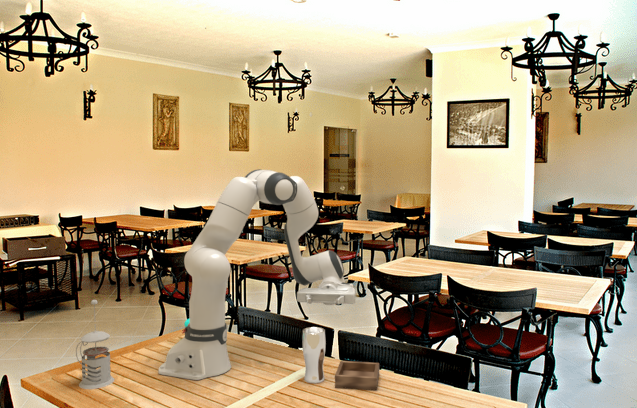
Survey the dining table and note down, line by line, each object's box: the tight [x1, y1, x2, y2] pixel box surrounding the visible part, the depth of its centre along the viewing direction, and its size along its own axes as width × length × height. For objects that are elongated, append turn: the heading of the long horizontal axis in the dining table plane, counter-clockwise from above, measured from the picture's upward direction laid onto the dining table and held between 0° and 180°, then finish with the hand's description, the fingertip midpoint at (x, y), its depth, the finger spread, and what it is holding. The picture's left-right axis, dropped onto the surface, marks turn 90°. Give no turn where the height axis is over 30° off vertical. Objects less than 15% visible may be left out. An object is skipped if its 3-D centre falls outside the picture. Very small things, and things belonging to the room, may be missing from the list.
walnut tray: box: [334, 360, 380, 392], centre depth 148 cm, size 12×12×4 cm
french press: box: [75, 299, 115, 390], centre depth 149 cm, size 10×12×25 cm
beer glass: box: [301, 326, 327, 384], centre depth 149 cm, size 7×7×15 cm
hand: (322, 301), depth 164 cm, fingers open, 8 cm apart
